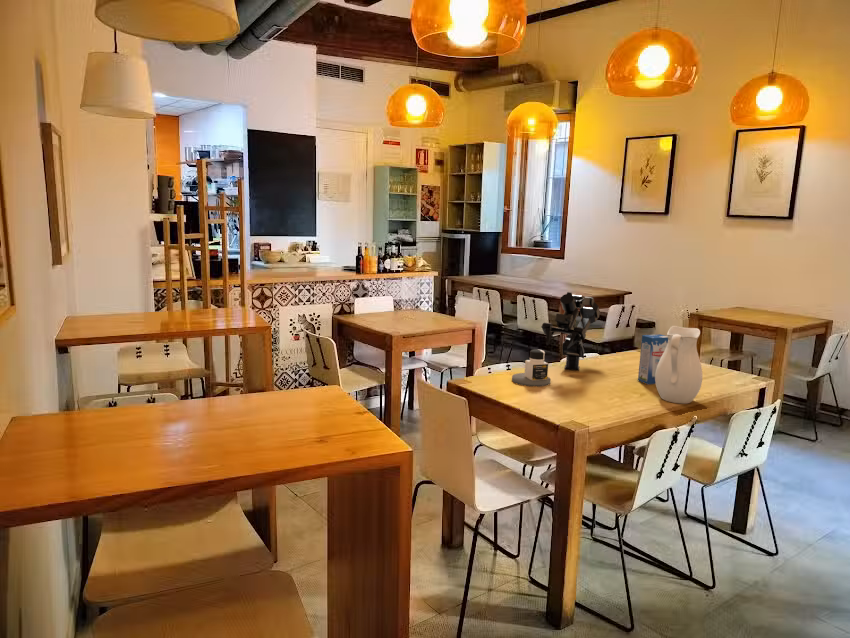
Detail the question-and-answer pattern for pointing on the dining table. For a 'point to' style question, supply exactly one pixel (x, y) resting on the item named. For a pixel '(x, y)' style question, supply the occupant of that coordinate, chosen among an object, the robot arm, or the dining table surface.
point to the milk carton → (651, 356)
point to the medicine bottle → (536, 366)
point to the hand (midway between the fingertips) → (556, 346)
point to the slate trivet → (524, 380)
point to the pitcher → (679, 366)
